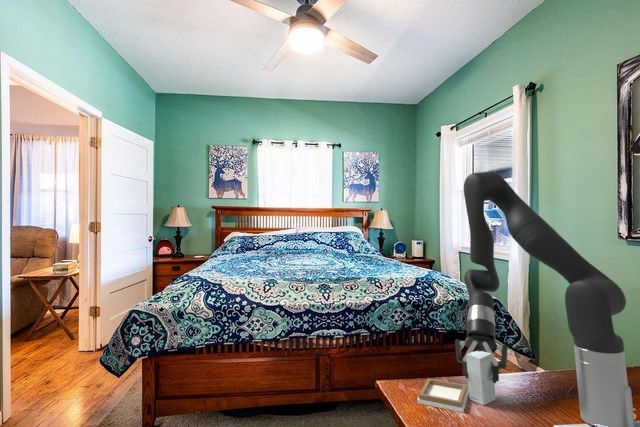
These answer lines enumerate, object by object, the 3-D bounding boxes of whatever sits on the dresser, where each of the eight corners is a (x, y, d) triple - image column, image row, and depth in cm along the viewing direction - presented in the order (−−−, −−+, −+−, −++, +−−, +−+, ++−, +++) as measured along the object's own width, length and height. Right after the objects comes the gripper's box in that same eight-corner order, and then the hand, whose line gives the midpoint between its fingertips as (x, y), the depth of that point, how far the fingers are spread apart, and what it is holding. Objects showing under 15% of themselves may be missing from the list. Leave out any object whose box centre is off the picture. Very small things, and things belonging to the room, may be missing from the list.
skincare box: (484, 406, 88) (480, 358, 88) (468, 399, 91) (465, 354, 92) (496, 399, 91) (493, 353, 92) (481, 393, 95) (478, 349, 96)
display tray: (468, 392, 95) (468, 384, 95) (463, 412, 85) (462, 403, 85) (427, 385, 101) (426, 377, 101) (417, 403, 91) (417, 394, 91)
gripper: (453, 315, 103) (449, 368, 92) (507, 319, 95) (510, 378, 84) (457, 328, 107) (454, 381, 96) (508, 333, 100) (511, 391, 89)
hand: (480, 379), depth 90 cm, fingers closed on skincare box, 6 cm apart
